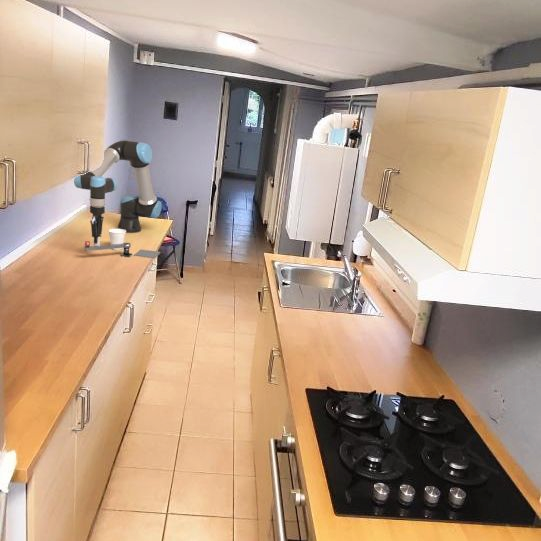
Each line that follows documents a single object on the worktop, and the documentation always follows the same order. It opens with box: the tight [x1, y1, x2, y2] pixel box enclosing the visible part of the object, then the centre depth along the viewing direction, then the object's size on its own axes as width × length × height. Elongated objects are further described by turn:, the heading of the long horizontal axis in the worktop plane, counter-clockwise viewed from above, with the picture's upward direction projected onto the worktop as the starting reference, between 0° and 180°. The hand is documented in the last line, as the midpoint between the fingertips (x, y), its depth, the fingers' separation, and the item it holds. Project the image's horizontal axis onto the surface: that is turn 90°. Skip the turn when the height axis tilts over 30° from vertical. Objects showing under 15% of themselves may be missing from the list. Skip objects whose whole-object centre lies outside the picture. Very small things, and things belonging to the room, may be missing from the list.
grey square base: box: [119, 248, 133, 258], centre depth 307 cm, size 5×5×5 cm
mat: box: [133, 249, 161, 259], centre depth 315 cm, size 12×12×1 cm
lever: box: [84, 240, 132, 252], centre depth 299 cm, size 4×26×5 cm, turn 130°
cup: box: [107, 228, 127, 251], centre depth 317 cm, size 10×10×11 cm
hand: (96, 248), depth 298 cm, fingers closed
